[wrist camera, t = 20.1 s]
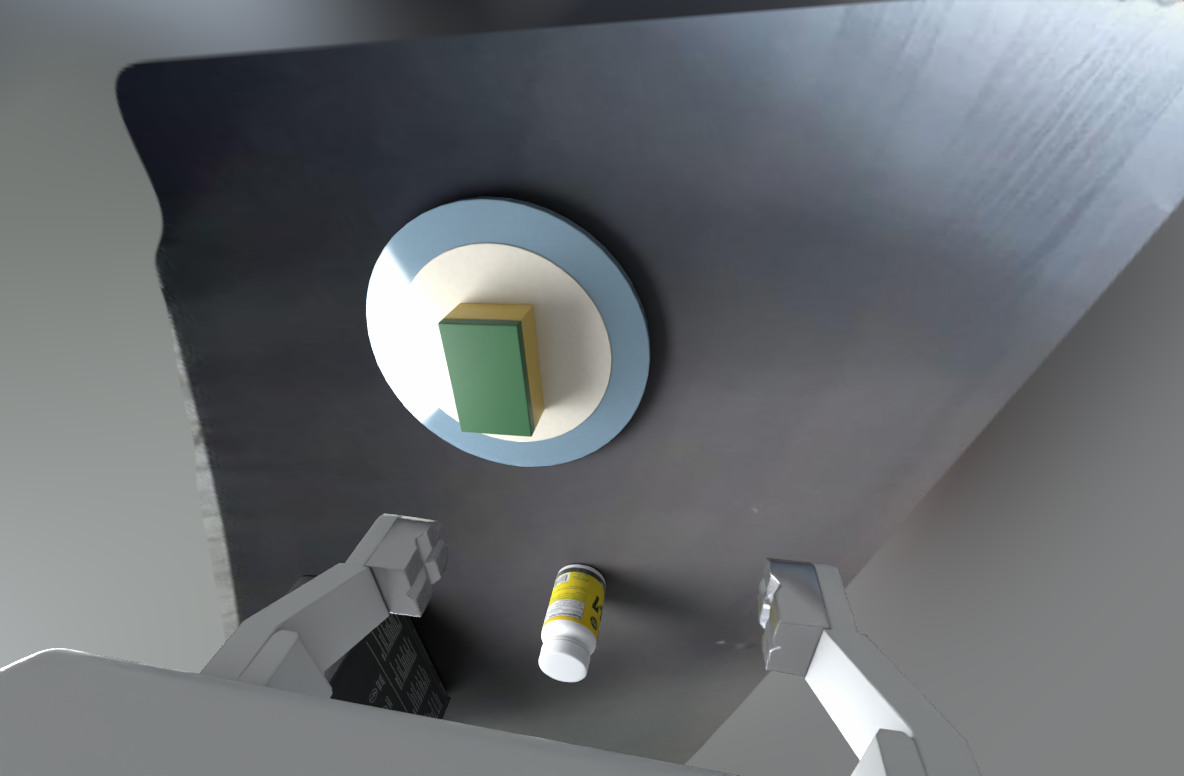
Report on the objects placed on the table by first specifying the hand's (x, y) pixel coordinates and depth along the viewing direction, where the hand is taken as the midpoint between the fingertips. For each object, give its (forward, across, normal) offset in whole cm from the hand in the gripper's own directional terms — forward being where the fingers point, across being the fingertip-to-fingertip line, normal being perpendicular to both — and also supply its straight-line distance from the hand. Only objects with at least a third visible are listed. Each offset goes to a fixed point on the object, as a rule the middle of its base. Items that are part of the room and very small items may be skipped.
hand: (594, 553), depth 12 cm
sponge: (+20, +10, +6) cm, 23 cm away
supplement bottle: (+20, +6, +29) cm, 36 cm away
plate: (+21, +10, +5) cm, 24 cm away
